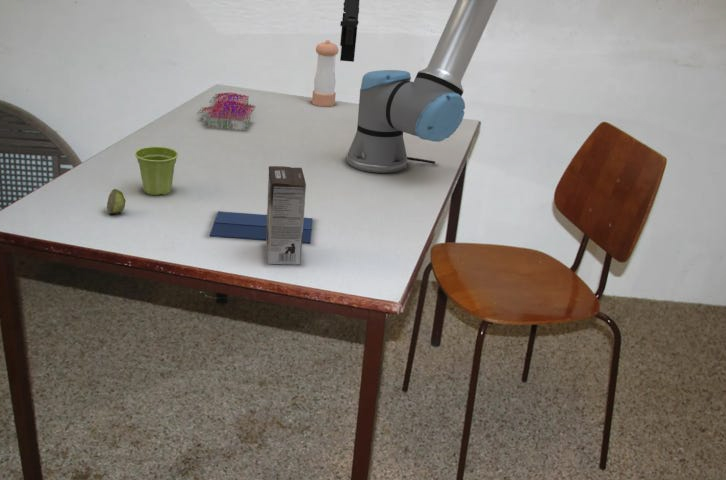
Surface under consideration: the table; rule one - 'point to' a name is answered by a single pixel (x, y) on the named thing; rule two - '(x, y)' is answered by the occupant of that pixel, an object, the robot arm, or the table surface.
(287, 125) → the table surface
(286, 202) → the coffee box
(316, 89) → the pepper shaker
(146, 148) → the plant pot
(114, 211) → the lime
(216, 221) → the napkin
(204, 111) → the pink and grey package
